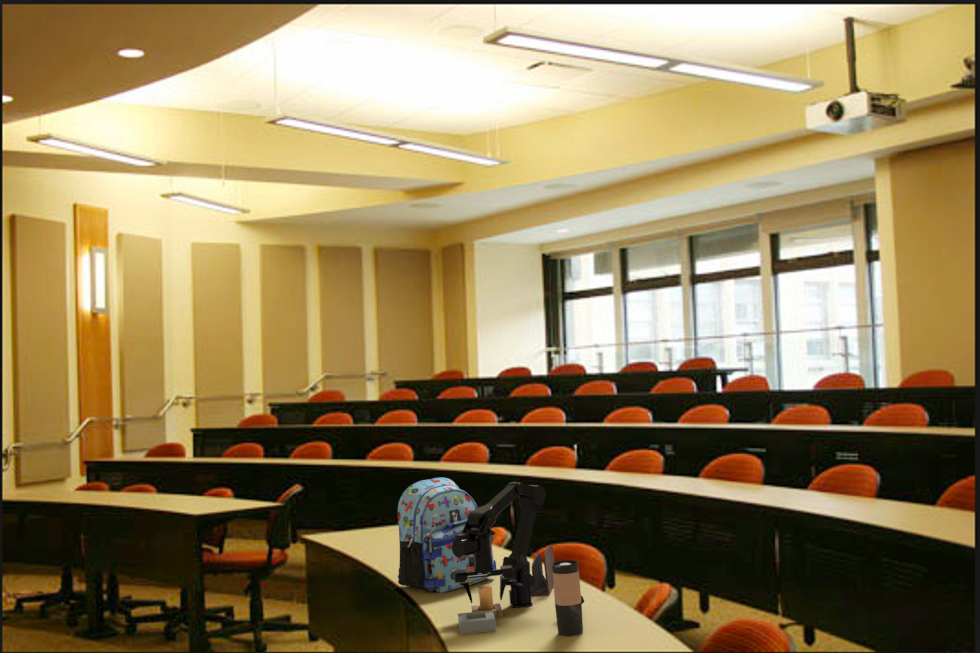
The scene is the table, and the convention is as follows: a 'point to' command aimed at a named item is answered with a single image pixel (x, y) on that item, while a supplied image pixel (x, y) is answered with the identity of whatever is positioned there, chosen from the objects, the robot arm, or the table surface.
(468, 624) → the socket
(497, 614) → the mount
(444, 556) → the backpack
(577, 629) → the travel mug
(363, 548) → the table surface
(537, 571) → the letter holder
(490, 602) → the peg
